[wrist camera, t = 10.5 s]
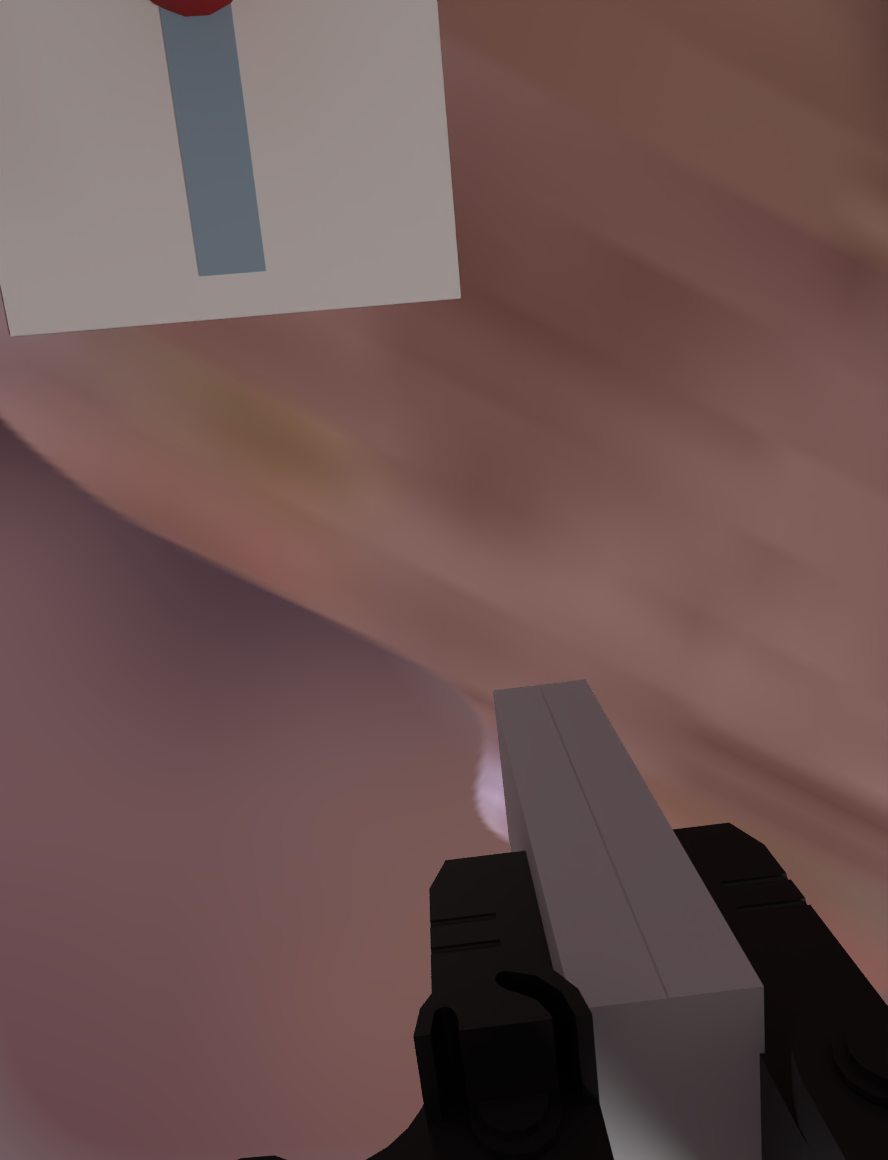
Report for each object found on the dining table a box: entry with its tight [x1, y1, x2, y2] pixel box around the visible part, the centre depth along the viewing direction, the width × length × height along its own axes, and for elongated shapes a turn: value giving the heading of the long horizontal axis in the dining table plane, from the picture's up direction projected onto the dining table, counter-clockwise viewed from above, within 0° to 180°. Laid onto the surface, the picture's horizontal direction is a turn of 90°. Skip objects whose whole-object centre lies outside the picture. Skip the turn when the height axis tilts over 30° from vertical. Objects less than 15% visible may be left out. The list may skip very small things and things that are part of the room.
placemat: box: [0, 0, 461, 336], centre depth 35 cm, size 22×22×1 cm
